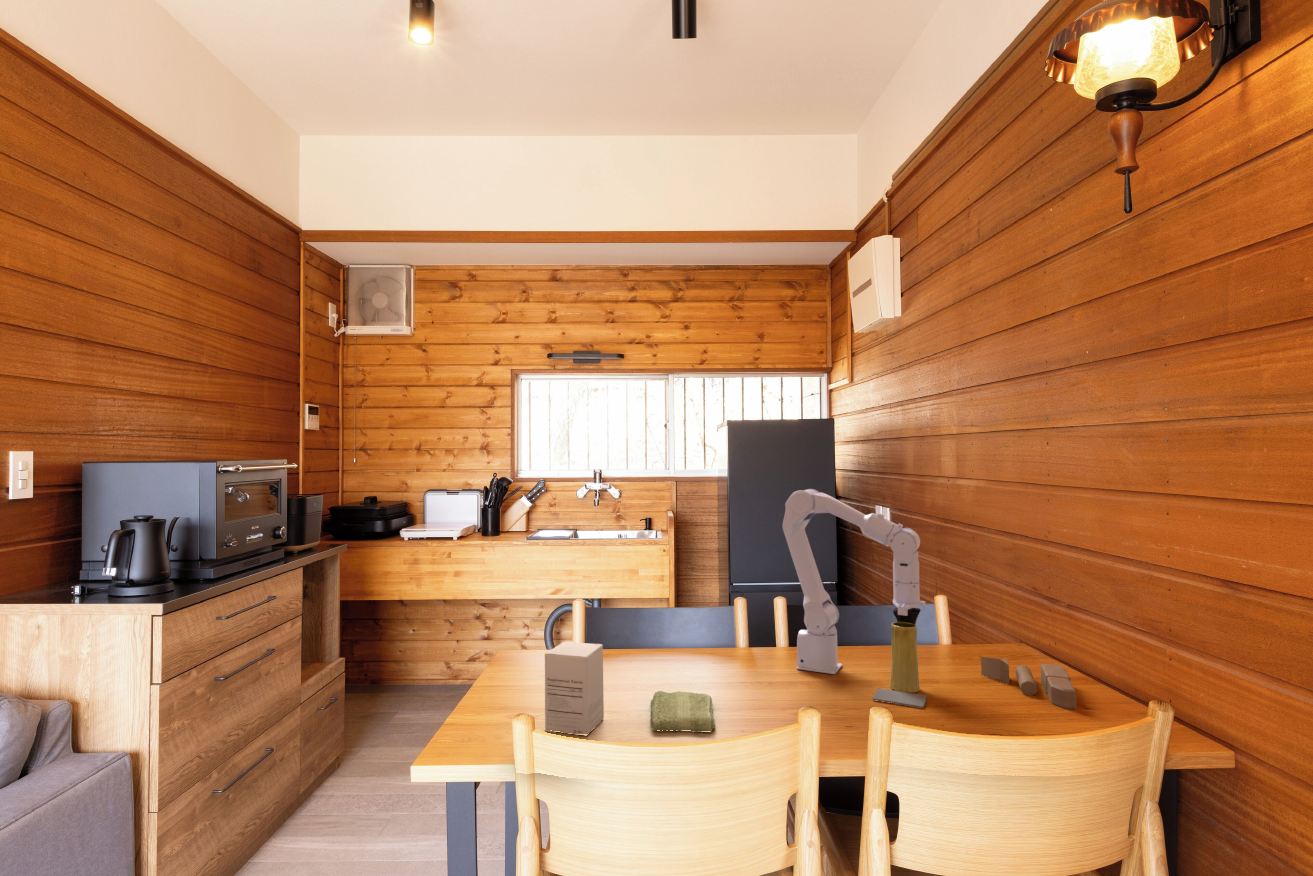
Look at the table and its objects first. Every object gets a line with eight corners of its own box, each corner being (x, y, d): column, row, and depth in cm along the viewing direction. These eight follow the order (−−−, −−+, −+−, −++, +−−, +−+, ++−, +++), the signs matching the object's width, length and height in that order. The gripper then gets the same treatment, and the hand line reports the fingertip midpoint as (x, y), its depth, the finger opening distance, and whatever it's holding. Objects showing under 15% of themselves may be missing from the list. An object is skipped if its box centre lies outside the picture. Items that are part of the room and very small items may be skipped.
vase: (922, 694, 144) (920, 628, 144) (892, 692, 145) (891, 627, 146) (916, 684, 150) (915, 621, 150) (888, 683, 151) (887, 620, 152)
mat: (872, 700, 140) (872, 698, 140) (878, 690, 146) (878, 688, 146) (923, 708, 135) (923, 706, 135) (926, 698, 142) (926, 695, 142)
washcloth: (712, 702, 141) (712, 687, 141) (716, 736, 124) (716, 719, 124) (651, 701, 142) (651, 686, 142) (646, 736, 124) (646, 718, 124)
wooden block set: (1063, 660, 151) (1077, 685, 134) (1063, 684, 151) (1078, 713, 134) (980, 651, 158) (984, 674, 141) (981, 675, 157) (985, 701, 141)
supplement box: (563, 714, 134) (563, 640, 134) (604, 719, 131) (604, 643, 132) (543, 732, 125) (543, 652, 125) (586, 737, 122) (586, 656, 123)
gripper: (921, 588, 145) (922, 650, 144) (928, 577, 157) (929, 635, 157) (887, 585, 148) (888, 646, 147) (896, 575, 161) (897, 631, 160)
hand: (907, 640), depth 152 cm, fingers closed
